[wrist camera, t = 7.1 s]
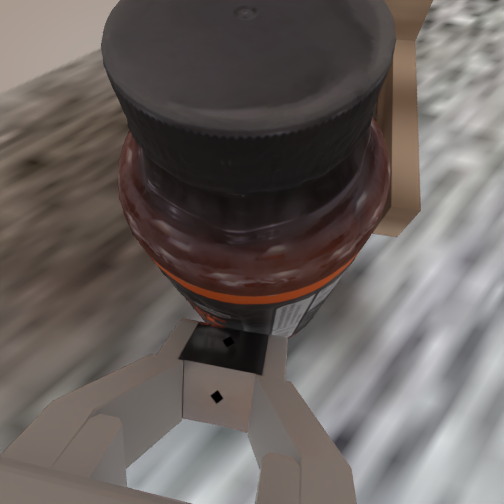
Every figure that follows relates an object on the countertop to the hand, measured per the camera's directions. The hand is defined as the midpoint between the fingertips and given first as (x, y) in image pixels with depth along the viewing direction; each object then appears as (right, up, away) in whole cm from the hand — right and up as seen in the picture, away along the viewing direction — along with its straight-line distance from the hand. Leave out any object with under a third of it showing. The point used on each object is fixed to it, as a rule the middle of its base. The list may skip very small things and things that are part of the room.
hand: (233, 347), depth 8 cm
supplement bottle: (+1, +1, +6) cm, 6 cm away
